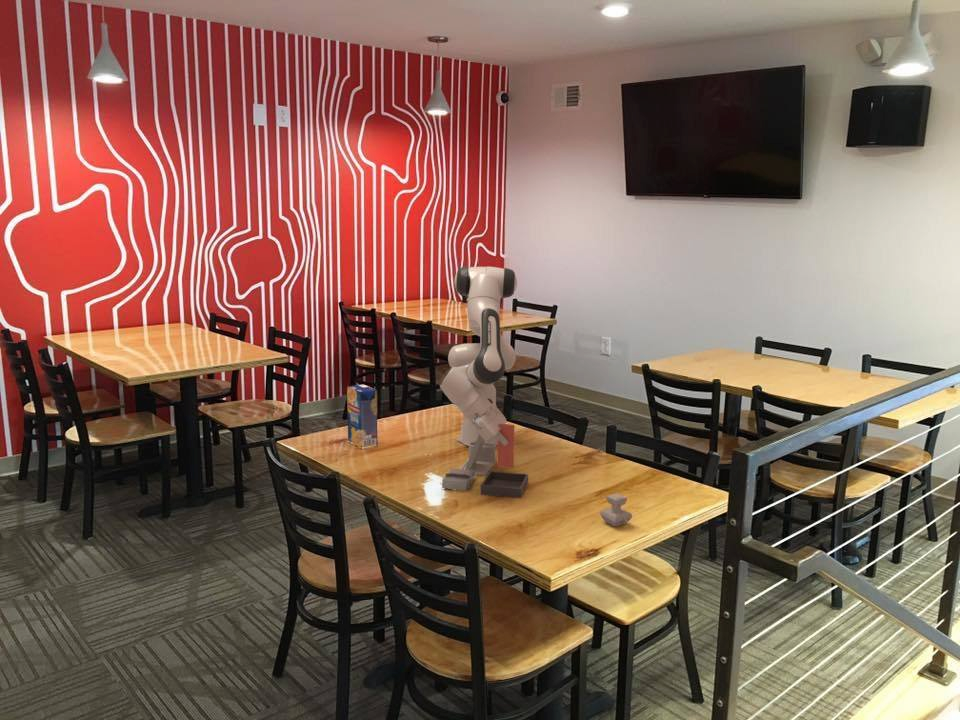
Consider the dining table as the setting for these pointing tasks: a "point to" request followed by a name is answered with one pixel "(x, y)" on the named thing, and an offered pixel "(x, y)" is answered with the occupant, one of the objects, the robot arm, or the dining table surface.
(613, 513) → the stamp
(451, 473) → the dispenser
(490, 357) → the robot arm
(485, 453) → the phone holder
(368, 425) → the beverage box
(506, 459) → the ticket
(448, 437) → the dining table surface
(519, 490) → the tray
